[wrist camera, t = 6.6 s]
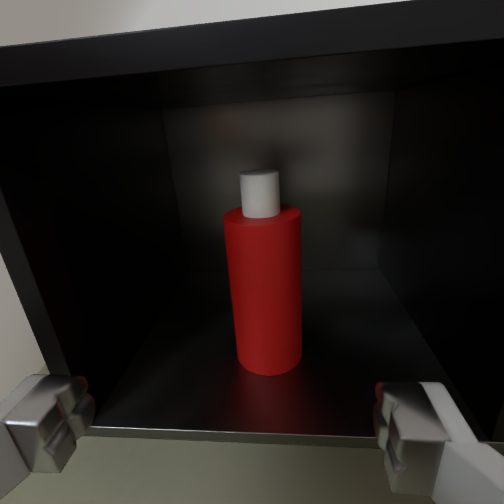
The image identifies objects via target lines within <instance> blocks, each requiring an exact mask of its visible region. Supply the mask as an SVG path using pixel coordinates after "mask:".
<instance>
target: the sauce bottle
mask: <svg viewBox="0 0 504 504" xmlns="http://www.w3.org/2000/svg"><path fill="white" fill-rule="evenodd" d="M239 175H240V187H241V199H242V207H238V208H235V209H232V210H230V211H228V212H226V213H225V214H224V215H223V224H224V234H225V243H226V252H227V261H228V271H229V280H230V289H231V298H232V308H233V317H234V326H235V335H236V344H237V354H238V359H239V361H240V363H241V364H242V366H243V367H244V368H246V369H247V370H248V371H250V372H252V373H255V374H258V375H264V376H274V375H280V374H283V373H286V372H288V371H290V370H292V369H293V368H294V367H295V366H296V365H297V364H298V363H299V361H300V359H301V357H302V294H301V212H300V210H299V209H297V208H295V207H293V206H289V205H283V204H280V189H279V171H278V170H274V169H258V170H249V171H244V172H241V173H240V174H239Z"/></svg>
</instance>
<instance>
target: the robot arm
mask: <svg viewBox="0 0 504 504" xmlns="http://www.w3.org/2000/svg"><path fill="white" fill-rule="evenodd" d="M88 387H89V385H88V383H87V380H86V378H85V377H82V376H72V375H52V374H49V375H44V374H33V375H30V376H28V377H26V378H25V379H24V380H23V381H22V382H21V383H20V384H19V385H18V386H17V387H16V388H15V389H14V390H13V391H12V392H11V393H10V394H9V395H8V396H7V397H6V398H5V399H4V400H3V401H2V402H1V403H0V500H1V499H2V498H3V497H4V496H5V495H7V494H8V493H9V492H10V491H11V490H13V489H14V488H15V487H16V486H17V485H18V484H20V483H21V482H22V481H23V480H24V479H25V478H27V477H28V476H29V475H30V472H35V473H61V472H62V470H63V469H64V467H65V466H66V464H67V462H68V461H69V459H70V458H71V456H72V455H73V453H74V451H75V450H76V440H77V439H79V438H80V437H81V436H83V435H84V434H86V433H87V431H88V429H89V428H90V426H91V424H92V422H93V419H94V415H95V402H94V399H93V397H92V396H91V395H90V394H88V393H87V392H86V391H87V389H88ZM375 394H376V397H377V400H378V402H377V403H376V404H375V405H374V410H373V421H374V429H375V435H376V439H377V442H378V446H379V447H380V448H381V449H382V450H383V451H384V452H385V457H384V467H385V470H386V473H387V477H388V480H389V483H390V487H391V490H392V493H397V494H409V495H420V496H431V497H432V498H431V499H432V500H433V501H434V502H435V503H436V504H504V456H503V455H501V454H500V453H499V452H497V451H496V450H495V449H493V448H492V447H491V446H489V445H488V444H487V443H479V442H478V440H477V439H476V437H475V435H474V434H473V432H472V430H471V429H470V427H469V425H468V424H467V422H466V421H465V419H464V417H463V416H462V414H461V412H460V411H459V409H458V407H457V406H456V404H455V403H454V401H453V399H452V398H451V396H450V394H449V393H448V391H447V390H446V388H445V386H444V385H443V384H442V383H440V382H377V385H376V390H375Z"/></svg>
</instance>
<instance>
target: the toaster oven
mask: <svg viewBox="0 0 504 504" xmlns="http://www.w3.org/2000/svg"><path fill="white" fill-rule="evenodd" d="M258 169H274V170H278V171H279V189H280V204H283V205H289V206H293V207H295V208H297V209H299V210H300V212H301V294H302V357H301V359H300V361H299V363H298V364H297V365H296V366H295V367H294V368H293V369H292V370H290V371H288V372H286V373H283V374H280V375H274V376H264V375H258V374H255V373H252V372H250V371H248V370H247V369H246V368H244V367H243V366H242V364H241V363H240V361H239V359H238V354H237V344H236V335H235V326H234V317H233V308H232V298H231V289H230V280H229V271H228V261H227V252H226V243H225V234H224V224H223V215H224V214H225V213H226V212H228V211H230V210H232V209H235V208H238V207H242V199H241V187H240V175H239V174H240V173H241V172H244V171H249V170H258ZM0 253H1V255H2V258H3V260H4V263H5V265H6V268H7V270H8V272H9V275H10V277H11V280H12V282H13V285H14V287H15V289H16V292H17V295H18V297H19V299H20V302H21V304H22V307H23V309H24V311H25V314H26V316H27V319H28V321H29V324H30V326H31V329H32V331H33V333H34V336H35V338H36V340H37V343H38V346H39V348H40V351H41V353H42V355H43V358H44V360H45V362H46V365H47V368H48V370H49V372H50V374H52V375H72V376H82V377H85V378H86V380H87V383H88V385H89V387H88V389H87V391H86V392H87V393H88V394H90V395H91V396H92V397H93V399H94V402H95V415H94V419H93V422H92V424H91V426H90V428H89V429H88V431H87V433H86V434H84V435H83V436H105V437H128V438H151V439H175V440H198V441H221V442H244V443H267V444H291V445H314V446H337V447H360V448H380V447H379V446H378V442H377V439H376V435H375V429H374V421H373V410H374V405H375V404H376V403H377V402H378V400H377V397H376V394H375V390H376V385H377V382H440V383H442V384H443V385H444V386H445V388H446V390H447V391H448V393H449V394H450V396H451V398H452V399H453V401H454V403H455V404H456V406H457V407H458V409H459V411H460V412H461V414H462V416H463V417H464V419H465V421H466V422H467V424H468V425H469V427H470V429H471V430H472V432H473V434H474V435H475V437H476V439H477V440H478V442H479V443H487V444H488V445H489V446H491V447H492V448H493V449H495V450H496V451H497V452H499V453H500V454H504V0H410V1H401V2H392V3H383V4H374V5H365V6H356V7H347V8H339V9H330V10H321V11H312V12H303V13H294V14H285V15H276V16H267V17H259V18H249V19H241V20H232V21H223V22H214V23H205V24H196V25H187V26H179V27H169V28H160V29H151V30H143V31H134V32H125V33H116V34H107V35H98V36H89V37H80V38H71V39H62V40H53V41H46V42H45V41H44V42H36V43H27V44H18V45H9V46H0Z"/></svg>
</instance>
